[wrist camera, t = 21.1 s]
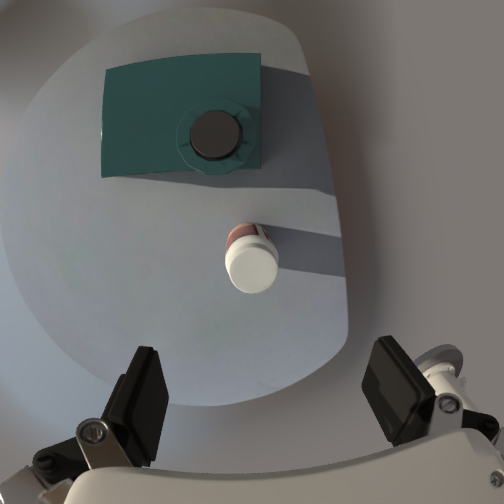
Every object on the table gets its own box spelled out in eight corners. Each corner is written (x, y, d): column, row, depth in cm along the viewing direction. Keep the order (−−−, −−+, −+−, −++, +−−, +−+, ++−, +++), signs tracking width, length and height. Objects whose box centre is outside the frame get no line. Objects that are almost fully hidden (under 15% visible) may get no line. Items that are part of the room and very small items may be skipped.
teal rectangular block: (258, 64, 24) (262, 45, 19) (258, 173, 28) (262, 174, 23) (117, 77, 23) (98, 64, 18) (114, 180, 27) (93, 183, 22)
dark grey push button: (239, 114, 22) (239, 109, 20) (239, 157, 23) (239, 156, 21) (193, 115, 21) (190, 111, 20) (193, 159, 23) (190, 158, 21)
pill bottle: (220, 256, 30) (215, 287, 22) (236, 215, 29) (236, 234, 21) (260, 270, 31) (269, 305, 23) (277, 231, 30) (292, 254, 22)
